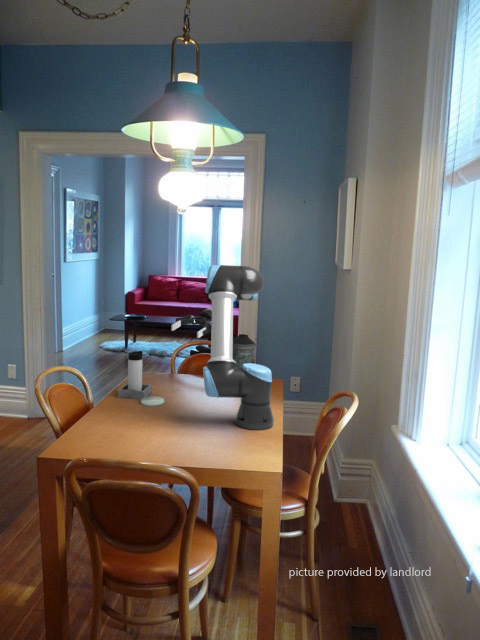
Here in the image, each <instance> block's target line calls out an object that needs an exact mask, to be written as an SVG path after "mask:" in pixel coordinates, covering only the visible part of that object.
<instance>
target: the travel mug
mask: <svg viewBox="0 0 480 640" xmlns="http://www.w3.org/2000/svg"><path fill="white" fill-rule="evenodd" d="M143 353H144V352H143V350H134V351H131V352H129V353H128V354H127V355H128V360H127V367H128V368H127V371H128V372H127V383H128V390H135V391H142V384H143Z"/></svg>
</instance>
